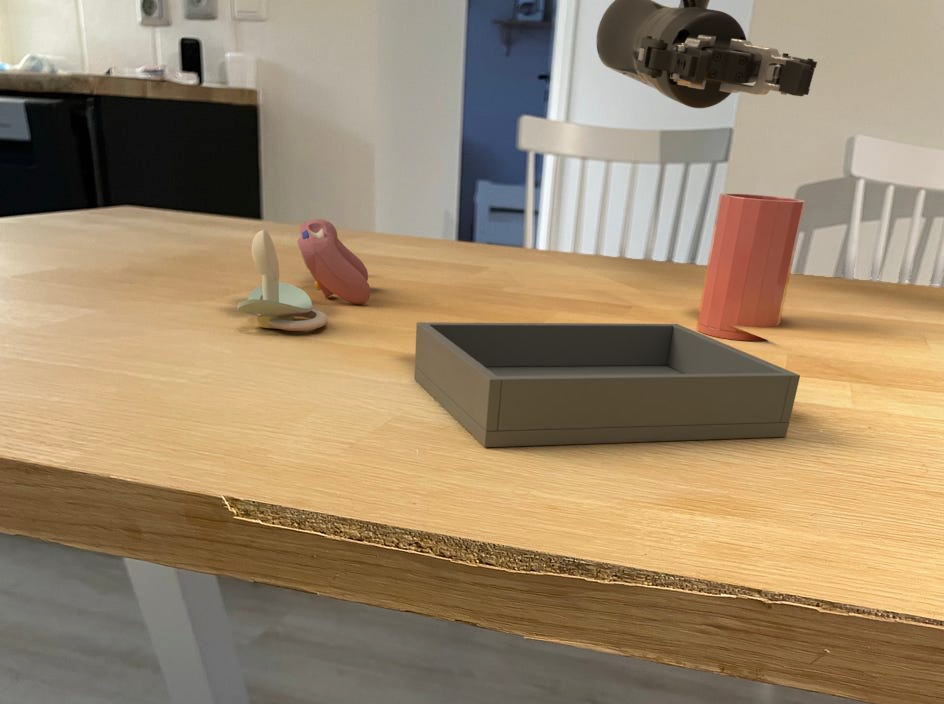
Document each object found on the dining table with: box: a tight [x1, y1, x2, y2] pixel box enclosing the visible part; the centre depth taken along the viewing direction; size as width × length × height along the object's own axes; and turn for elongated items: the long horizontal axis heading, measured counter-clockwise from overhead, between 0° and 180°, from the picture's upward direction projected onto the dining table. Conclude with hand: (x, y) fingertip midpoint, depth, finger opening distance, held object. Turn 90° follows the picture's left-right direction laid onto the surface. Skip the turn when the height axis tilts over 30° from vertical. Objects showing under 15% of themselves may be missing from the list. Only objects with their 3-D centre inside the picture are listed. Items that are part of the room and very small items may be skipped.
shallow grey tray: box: [413, 321, 801, 448], centre depth 53 cm, size 17×13×3 cm
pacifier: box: [236, 229, 329, 332], centre depth 66 cm, size 7×6×6 cm
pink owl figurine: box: [296, 218, 372, 305], centre depth 79 cm, size 10×5×7 cm, turn 6°
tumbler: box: [696, 192, 807, 342], centre depth 74 cm, size 6×6×10 cm
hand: (753, 74), depth 75 cm, fingers open, 8 cm apart
